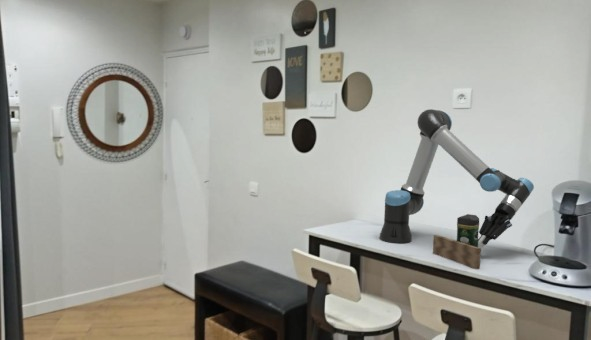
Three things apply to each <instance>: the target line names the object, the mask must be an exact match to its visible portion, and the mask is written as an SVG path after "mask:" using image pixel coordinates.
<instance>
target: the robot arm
mask: <svg viewBox="0 0 591 340" xmlns="http://www.w3.org/2000/svg"><path fill="white" fill-rule="evenodd" d="M452 125H453V123H452V119H451V116H450V115H449V113H447V112H444V111H442V110H439V109H430V108H429V109H426V110H424V111H422V112H421V113H420V114H419V116H418V118H417V127H418V129H419V131H420V133H419V135H420V138H421V139H420V142H419V145H418V148H417V151H416V154H415V156H414V159H413V161H412V162H413V163H412V166H411V168H410V170H409V173H408V176H407V180H406V183H404V184H402V185H401V188H400V190H399V189H397V190H395V189H394V190H390V191H388V192H386V194H385V198H384V217H383V225H382V227H381V230H380V232H379V240H381V241H383V242H387V243H393V244H394V243H395V244H406V243H407V244H408V243H411V242H412V239H413V238H412V232H411V229H410V225H409V224H410V215H414V214H417V213H419V212H421V210H422V209H423V206H424V202H425V201H424V195H425V191H424V187H425V184H426V180H427V178H428V175H429V173H430V169H431V166H432V165H433V164H432V163H433V162H434V159H435V157H436V153H437V150H438V147H439V146H440V147H441V148H442V149H443V150H444V151H445V152H446V153H448V155H449V156H451V158H453V160H454V161H456V163H458V164H459V165H460V166H461V167H462V168H463V169H464V170H466V172H467V173H469V174H470V176H471V177H472V178H473V179H475V181H477V182H478V183H479V186H480V188H481V189H482V190H484V191H486V192H489V193H491V192H496V191H497V190H498V191H500V192H502V194H505V196H504V197H503V198H502V200H501V201H500V203H499V204H498V205H497V206H496V207H495V210H494V213H492V214H491V215H490V216H489V215H485V216H484V221H483V222H482V225H481V226H480V228H479V231H478V234H479V235H480V236H479V237H478V248H481V250H482V249H483V248H484V247H485V246H487V245H488V243H489V242H490V240H493V241H494V240H495V241H496V240H497V239H498V238H499V237H500V236H501V235H503V233H504V232H506V231H507V229H508V228H511V227H512V226H513V223H512V222H511V220H512V219H513V218H514V216H516V214H517V212H518V211H519V210H520V208H521V207H522V205H523V204H524V203H525V202H526V200H527V199H528V198H529V197H530V195H531V193H532V192H533V191H534V188H535V187H534V184H533V182H532V181H531V180H530V179H528V178H525V177H519V178H518V179H516V178H513V177H511V176H509V175H507V174H506V173H503V172H502V171H500V170H499V169H496V168H494V167H491V168H490V166H488V164H486V163H485V162H484V161H483V160H482V159H481V158H480V157H479V156H477V155H476V153H474V152H473V150H471V149H470V148H469V147H468V146H467V145H466V144H464V143H463V142H462V140H460V139H459V138H458V137H457V136H456V135H455V133H453V132H452V131H450V130H451V129H452Z"/></svg>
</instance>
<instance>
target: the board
mask: <svg viewBox="0 0 591 340" xmlns="http://www.w3.org/2000/svg"><path fill="white" fill-rule="evenodd" d="M432 241H433V243H432V254H433V255H436V256H439V257H442V258H445V259H447V260H450V261H452V262H456V263H458V264H461V265H463V266H467V267H469V268H471V269H475V270H479V269H480V267H481V254H482V249H481V248H478V247H475V246H472V245H468V244H465V243H462V242H459V241H457V239H456V240H455V239H452V238H449V237H445V236H443V235H440V234H433V240H432Z"/></svg>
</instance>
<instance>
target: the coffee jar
mask: <svg viewBox="0 0 591 340" xmlns="http://www.w3.org/2000/svg"><path fill="white" fill-rule="evenodd" d="M456 220H457V221H456V232H457V233H456V241H459V242H462V243H465V244H468V245H472V246H475V247H478V239H479V231H480V218H479V217H478V216H477V215H476V214H469V213H467V214H464V215H461V216H458V217H457V219H456Z"/></svg>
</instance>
